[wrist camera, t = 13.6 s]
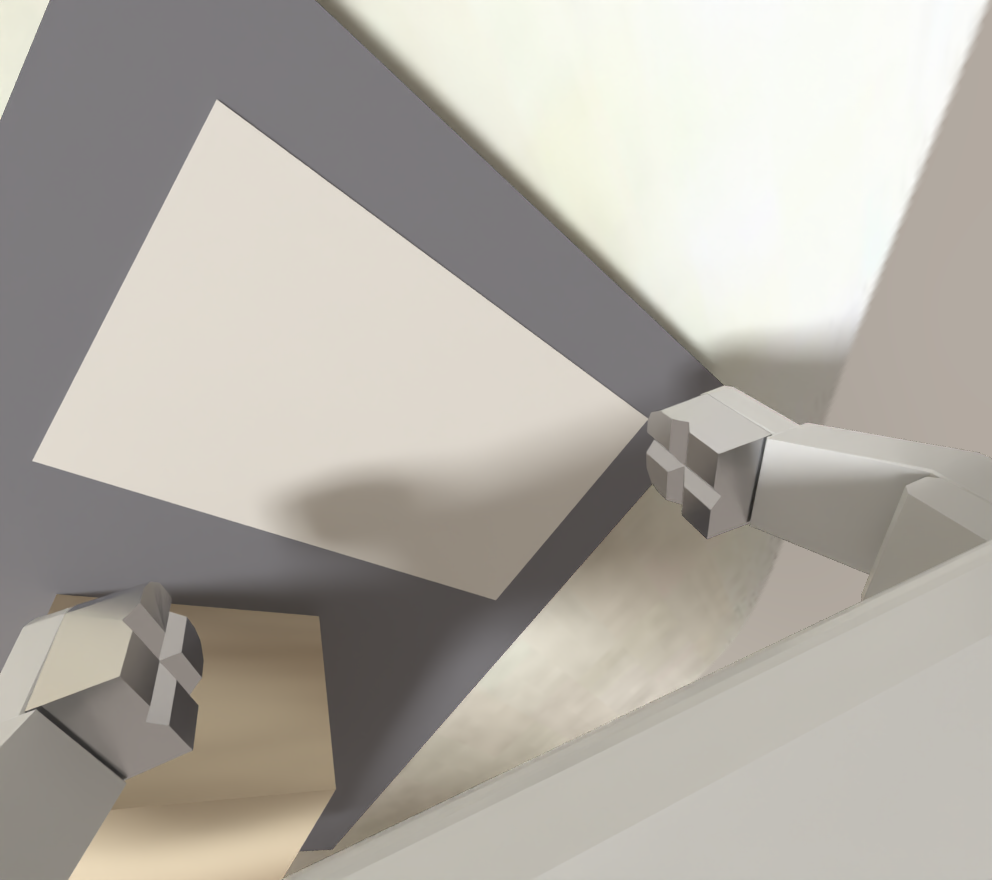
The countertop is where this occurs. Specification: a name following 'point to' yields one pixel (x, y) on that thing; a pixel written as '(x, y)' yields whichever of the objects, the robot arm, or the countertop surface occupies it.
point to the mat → (300, 359)
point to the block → (230, 760)
